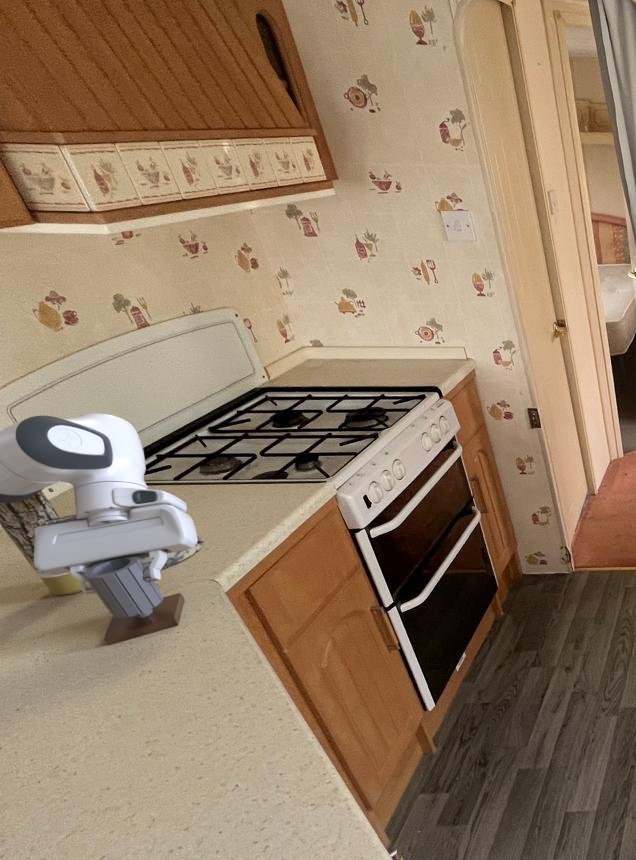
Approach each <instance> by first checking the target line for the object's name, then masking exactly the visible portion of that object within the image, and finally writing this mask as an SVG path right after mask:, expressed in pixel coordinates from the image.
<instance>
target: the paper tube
mask: <svg viewBox="0 0 636 860" xmlns="http://www.w3.org/2000/svg"><path fill="white" fill-rule="evenodd" d="M52 518H61V517H60V515H59V513H58V512H57V511H56V509H55V508H54V506H53V505H52V503H51V502H50V500H49V499H48V497H47V496H46V495H45V493H44V491H43V490H41V491H40V492H38V493H36V494H35V495H33V496H31V497H30V498H28V499H26V500H24V501H20V502H16V503H0V527H1V528H2V529H3V530H4V532H5V533H6V534H7V536H8V537H9V539H11V541H12V543H13V544H14V545H15V546H16V548H17V549H18V550H19V552H20V553H21V554H22V556H23V557H24V559H25V560H26V561H27V563H28V564H29V565H30V566H31V568H32V570H34V571H35V573H36V575H37V576H38V577H39V578H40V580H41V581H42V582H43V583H44V585H45V587H46V588H47V590H49V592H50V593H51V594H54V595H56V596H68V595H72V594H76V593H79V592H82V590H81V583H80V582H79V581H78V580H77V579H76V578H75V577H73V576H72V575H71V574H70V572H69V573H64V574H59V575H52V574H48V573H45V572H42V571H40V570H38V569H37V568H36V567H35V566H34V549H35V542H36V540H35V529H36V528H37V527H38V526H39V525H41V524H42V523H44V522H45V521H46V520H48V519H52ZM44 526H47V525H44Z"/></svg>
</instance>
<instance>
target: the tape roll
mask: <svg viewBox="0 0 636 860" xmlns="http://www.w3.org/2000/svg"><path fill="white" fill-rule="evenodd" d="M145 569H146V568H145V567H144V565H143V564H142V562H141V561H140V559H139V558H138V557H137V556H134V555H127V556H122V557H117V558H111V559H109V560H105V561H103V562H100V563H98V564H96V565H94V566H92V567H91V568H89V569H88V570H87V571H86V572H85V574H84V577H85V578H86V579H87V581H88V582H89V584H90V585H91V587H92V588H93V589H94V591H95V592H96V593H95V594H96V595H97V597H98V599H100V601H101V602H102V604H103V605H104V607H105V608H106V609H107V611H108V612H109V613H110V615H111V616H112V617H113V616H114V617H116V618H127V617H132V616H135V615H139V614H141V613H144V612H146V611H148V610H151V609H153V607H156V606H157V605H158V604H160V603H161V601H163V598H164V597H165V596H164V594H163V593H162V592H161V590H160V588H159V587H158V585H157V584H156V581H151V582H148V581H146V580H144V577H143V576H144V574H143V570H145Z"/></svg>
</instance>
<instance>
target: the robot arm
mask: <svg viewBox="0 0 636 860" xmlns="http://www.w3.org/2000/svg"><path fill="white" fill-rule="evenodd" d="M144 452H145V451H144V447H143V443H142V441H141V438H140V435H139V433H138V432H137V429H136V428H135V427H134V426H133V425H132V424H131V423H130V422H129V421H128V420H126V419H124V418H121V417H119V416H116V415H112V414H109V413H101V412H89V413H84V414H80V415H77V416H75V417H67V418H62V417H57V416H52V415H34V416H30V417H27V418H24V419H22V420H20V421H17V422H15V423H12V424H11V425H8V426H6V427H4V428H3V429H1V430H0V503H16V502H20V501H24V500H26V499H28V498H30V497H31V496H33V495H35V494H36V493H38V492H40V491H41V490H42V491H43V490H44V489H46V488H48V487H50V486H52V485H54V484H56V483H59V482H61V483H69V484H70V485H71V486H72V487H73V494H74V495H73V496H74V507H75V514H70V515H65V516H62V517H60V518H52V519H48V520H46V521H45V522H44V523H42V524H41V525H39V526H38V527H37V528H36V529H35V540H36V542H35V549H34V566H35V567H36V568H37V569H38V570H40V571H42V572H45V573H48V574H52V575H59V574H64V573H69V572H70V574H71V575H72V576H73V577H75V578H76V579H77V580H78V581H79V582H80V583H81V590H82V591H81V592H82V593H83V594H85V595H92V594H96V592H95V591H94V589H93V588H92V587H91V585H90V584H89V582H88V581H87V579H86V578H85V577H84V574H85V572H86V571H87V570H88V569H89V568H91V567H92V566H94V565H96V564H98V563H100V562H103V561H105V560H109V559H111V558H117V557H122V556H127V555H134V556H137V557H138V558H139V559H142V558H147V557H150V558H152V559H153V561H152V563H151V565H150V567H149V569H145V570H143V574H144V576H143V577H144V580H146V581H148V582H151V581H154V582H156V581H160V580H161V579H162V573H161V571H162V570H163V569H162V567H163V566H164V564H165V563H166V561H167V553H172V552H178V551H183V550H188V549H192V548H193V547H194V546H195V545H196V543H198V541H197V536H198V533H197V529H196V525H195V522H194V520H193V518H192V516H191V515H190V514H188V513H187V509H188V506H187V503H186V502H185V501H184V500H183V499H181V498H179V497H177V496H176V495H173V494H172V493H170V492H167V491H165V490H161V489H150V488H149V487H148V485H147V483H146V480H145V474H146V470H147V465H146V457H145V453H144ZM44 525H47V526H44Z"/></svg>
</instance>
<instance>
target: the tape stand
mask: <svg viewBox="0 0 636 860" xmlns="http://www.w3.org/2000/svg"><path fill="white" fill-rule="evenodd" d="M185 600H186V599H185V597H184V595H183V594H182V592H177V593H174V594H171V595H166V596H164V598H163V601H161V603H160V604H158V605H157V606H156V607H153V609H151V610H148V611H146V612H144V613H141V614H139V615H135V616H132V617H127V618H116V617H114V616H112V617H111V619H110V622H109V624H108V627H107V629H106V631H105V634H104V637H103V639H104V640H105V642H106V644H107V645H108V646H111V645H115V644H118V643H121V642H125V641H128V640H131V639H135V638H139V637H142V636H145V635H149V634H152V633H156V632H159V631H163V630H166V629H169V628H174V627H177V626H179V624H180V621H181V616H182V613H183V608H184V603H185Z"/></svg>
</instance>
